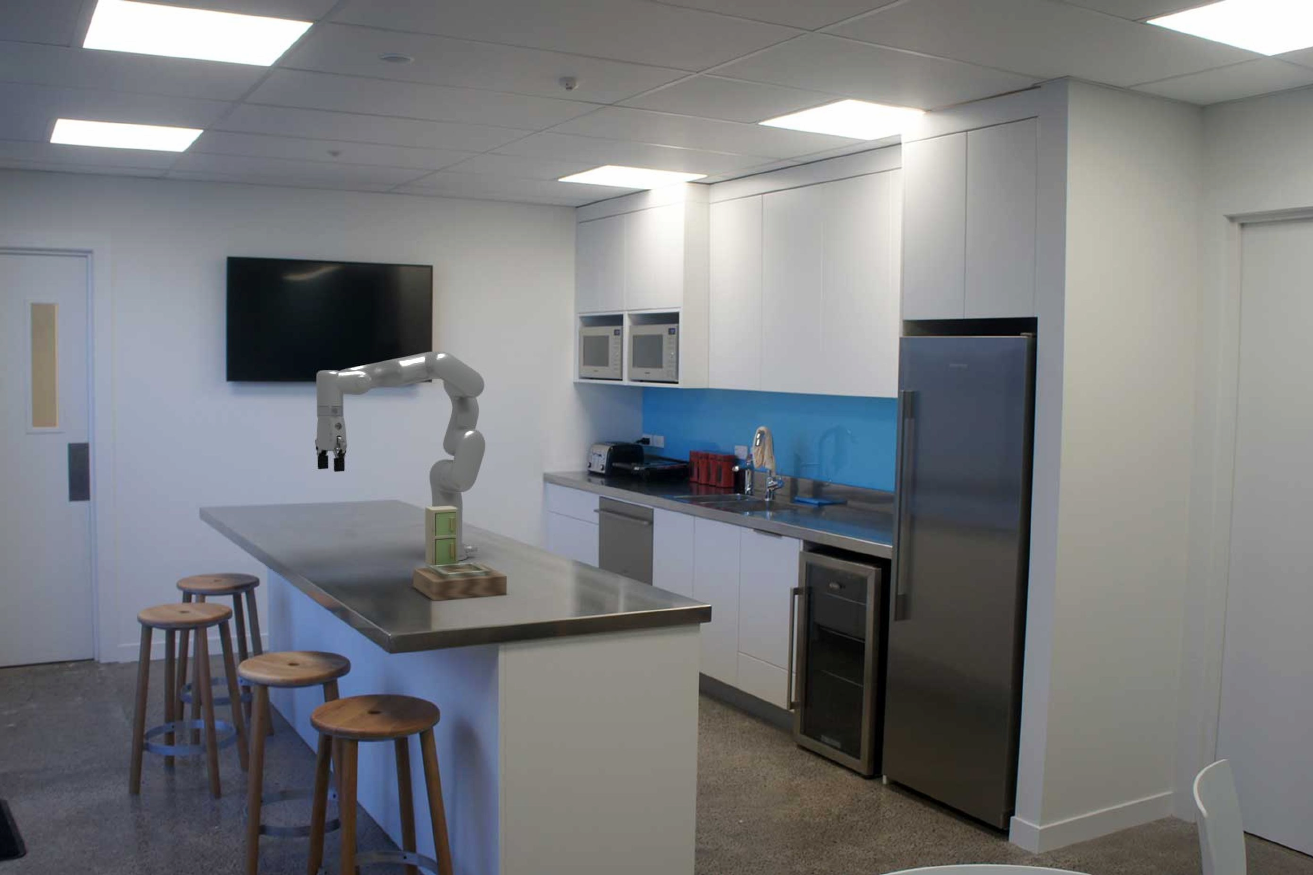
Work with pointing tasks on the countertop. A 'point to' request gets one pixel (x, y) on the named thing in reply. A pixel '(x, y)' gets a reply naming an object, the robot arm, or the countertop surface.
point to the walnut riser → (459, 581)
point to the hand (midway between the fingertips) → (331, 470)
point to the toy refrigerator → (441, 535)
